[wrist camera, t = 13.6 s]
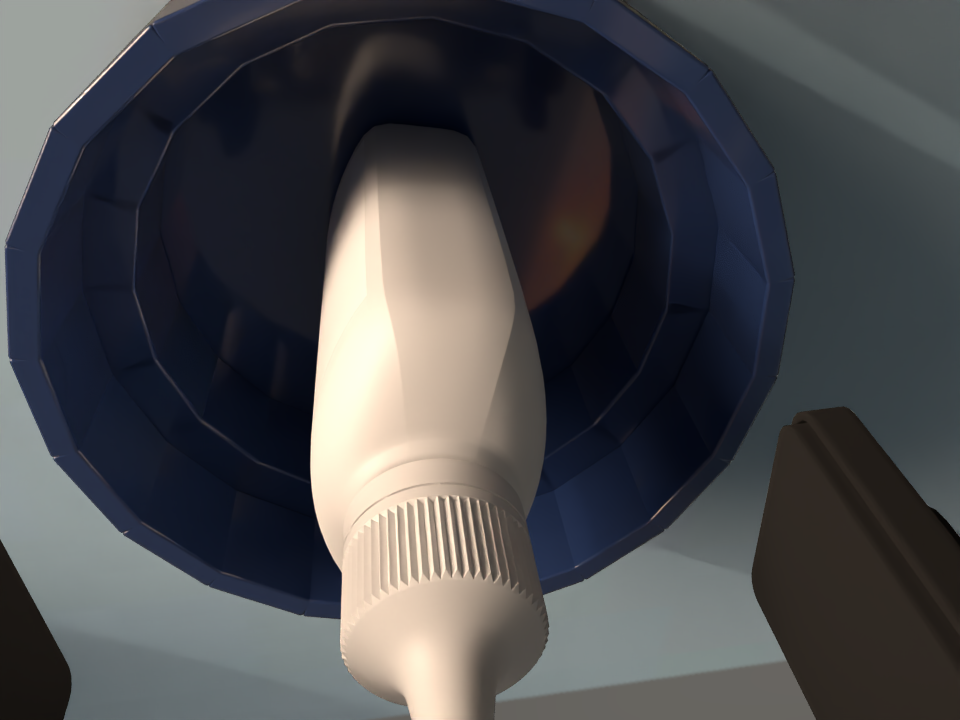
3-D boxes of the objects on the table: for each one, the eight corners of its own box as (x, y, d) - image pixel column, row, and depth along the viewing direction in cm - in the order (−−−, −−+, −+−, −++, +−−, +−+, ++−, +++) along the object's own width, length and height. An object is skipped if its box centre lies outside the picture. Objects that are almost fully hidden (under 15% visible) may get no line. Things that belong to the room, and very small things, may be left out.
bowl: (2, -67, 15) (-155, -8, 10) (717, -119, 16) (860, -85, 11) (184, 482, 22) (138, 658, 18) (668, 427, 23) (743, 581, 19)
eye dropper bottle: (252, 289, 19) (128, 846, 9) (397, 78, 17) (447, 500, 7) (414, 377, 20) (463, 923, 11) (563, 198, 18) (800, 671, 8)
